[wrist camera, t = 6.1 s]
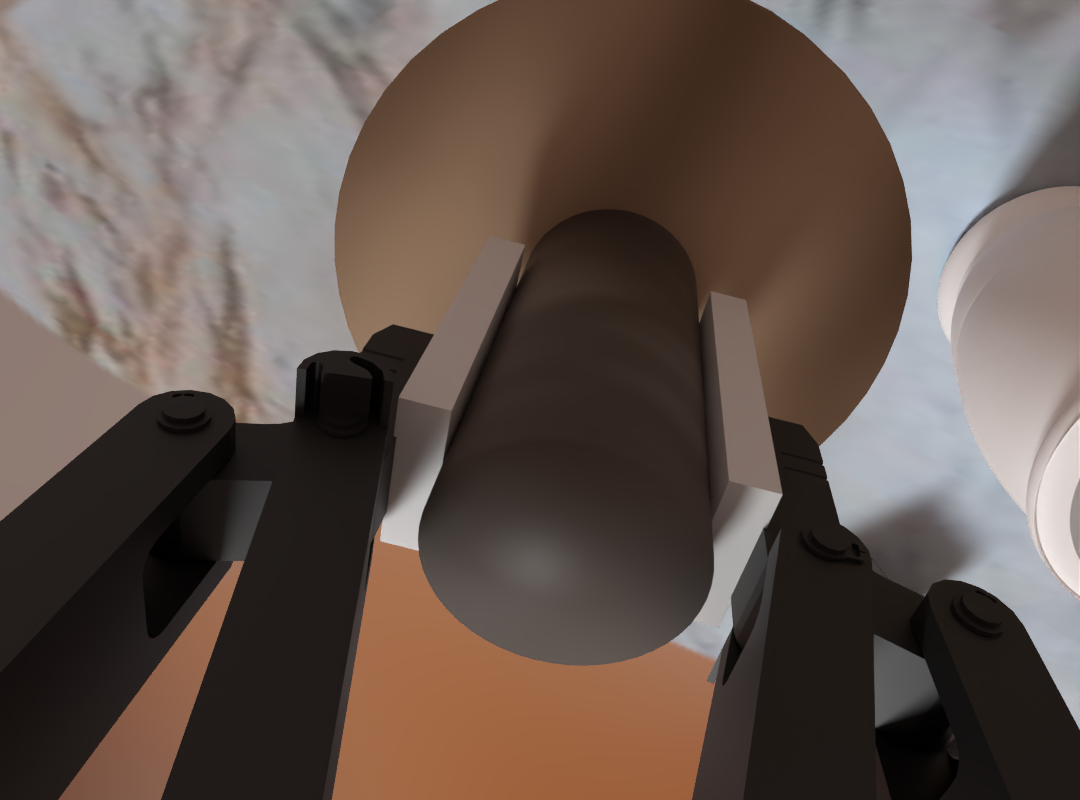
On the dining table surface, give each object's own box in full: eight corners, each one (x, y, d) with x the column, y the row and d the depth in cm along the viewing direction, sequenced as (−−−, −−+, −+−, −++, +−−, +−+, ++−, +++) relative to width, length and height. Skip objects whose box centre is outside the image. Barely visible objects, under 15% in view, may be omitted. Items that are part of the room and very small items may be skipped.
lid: (1011, 56, 16) (1413, 226, 7) (777, 536, 23) (839, 916, 14) (377, -99, 16) (33, -113, 7) (335, 425, 23) (131, 732, 14)
